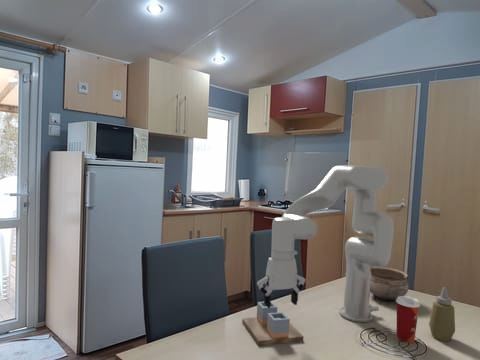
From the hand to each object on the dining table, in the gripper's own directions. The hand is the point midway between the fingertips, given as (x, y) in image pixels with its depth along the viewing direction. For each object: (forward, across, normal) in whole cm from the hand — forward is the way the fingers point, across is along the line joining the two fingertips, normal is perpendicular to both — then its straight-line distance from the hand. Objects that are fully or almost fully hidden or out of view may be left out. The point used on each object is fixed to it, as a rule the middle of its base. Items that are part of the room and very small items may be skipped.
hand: (280, 304), depth 116 cm
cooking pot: (+14, -65, -26) cm, 71 cm away
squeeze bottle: (+13, -58, +11) cm, 60 cm away
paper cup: (+13, -44, +9) cm, 47 cm away
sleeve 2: (+10, +1, 0) cm, 10 cm away
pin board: (+11, +1, -5) cm, 12 cm away
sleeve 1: (+10, +1, -10) cm, 14 cm away
